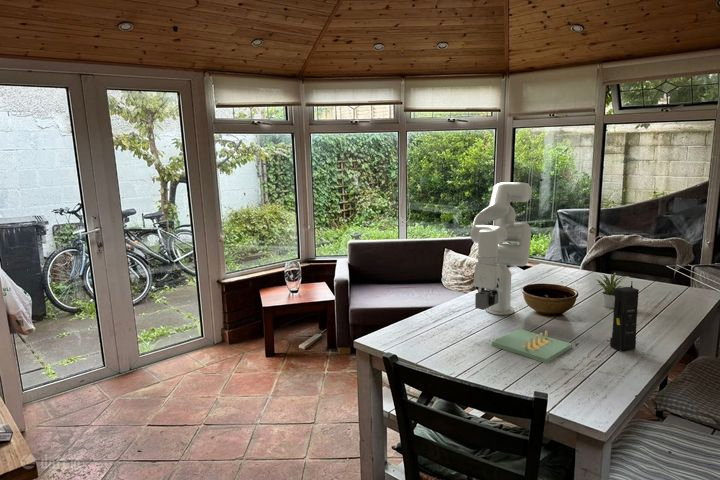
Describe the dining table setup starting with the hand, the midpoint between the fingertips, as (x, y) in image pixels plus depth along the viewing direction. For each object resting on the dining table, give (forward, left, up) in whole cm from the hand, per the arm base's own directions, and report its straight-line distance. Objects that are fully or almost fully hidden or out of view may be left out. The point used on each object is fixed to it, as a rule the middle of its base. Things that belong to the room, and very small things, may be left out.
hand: (487, 303), depth 194 cm
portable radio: (+44, +21, -13) cm, 51 cm away
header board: (+20, -1, -12) cm, 24 cm away
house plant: (+22, +68, -13) cm, 73 cm away
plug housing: (0, 0, -1) cm, 1 cm away
